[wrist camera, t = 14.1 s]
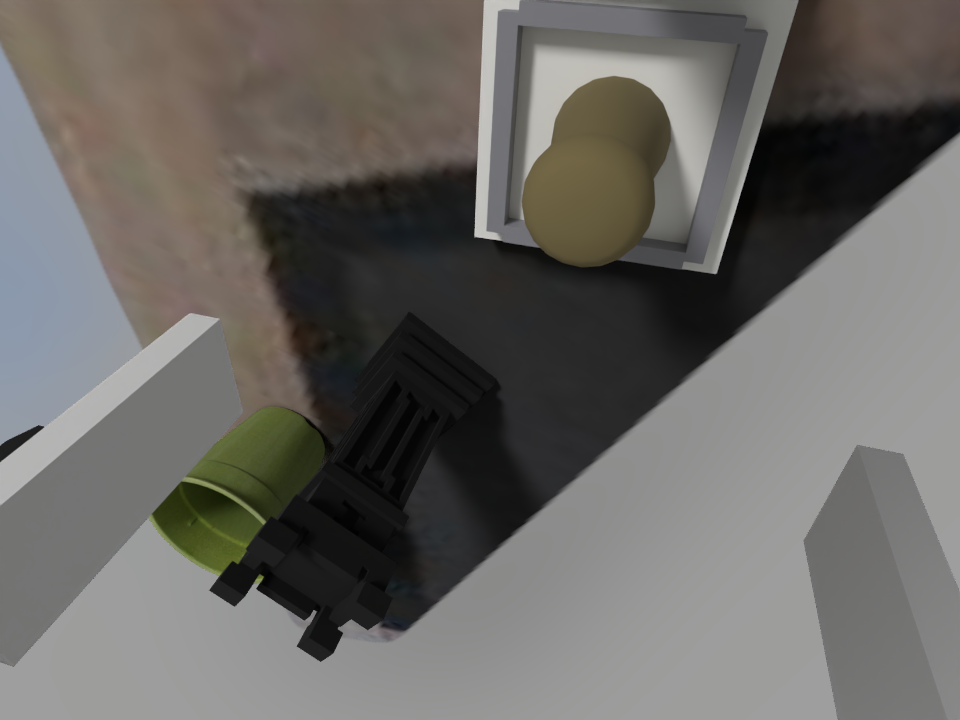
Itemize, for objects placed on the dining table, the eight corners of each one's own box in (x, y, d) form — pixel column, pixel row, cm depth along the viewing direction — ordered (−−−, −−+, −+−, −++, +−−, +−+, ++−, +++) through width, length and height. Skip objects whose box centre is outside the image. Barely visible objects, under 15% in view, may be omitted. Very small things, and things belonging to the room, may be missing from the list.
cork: (663, 199, 32) (655, 296, 24) (551, 194, 34) (504, 284, 25) (678, 75, 29) (676, 136, 20) (552, 75, 31) (500, 132, 22)
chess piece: (496, 379, 45) (393, 621, 29) (438, 433, 50) (323, 667, 34) (409, 311, 44) (253, 527, 28) (358, 374, 48) (200, 588, 33)
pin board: (514, -423, 23) (379, -707, 13) (922, -447, 20) (1162, -830, 10) (483, 224, 38) (409, 330, 28) (715, 259, 36) (727, 391, 25)
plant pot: (206, 392, 55) (112, 481, 46) (311, 375, 50) (230, 471, 41) (270, 488, 60) (198, 584, 51) (371, 481, 55) (311, 586, 46)
